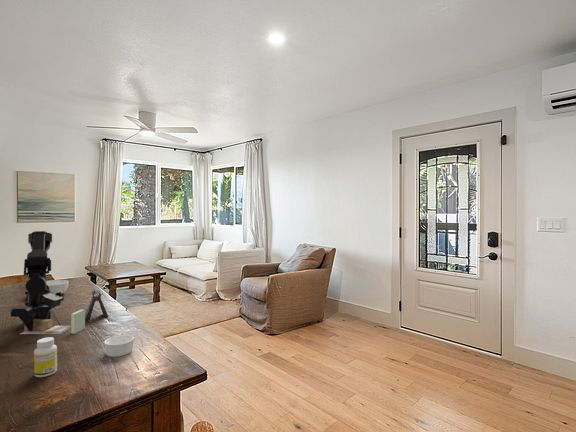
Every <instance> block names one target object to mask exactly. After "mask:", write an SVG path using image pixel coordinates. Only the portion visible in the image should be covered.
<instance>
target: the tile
mask: <svg viewBox="0 0 576 432" xmlns="http://www.w3.org/2000/svg"><path fill="white" fill-rule="evenodd" d="M85 314H86V310H85V309H79V310H77V311H75V312H72V313H71V318H70V321H71V322H70V323H71V325H70V326H71V328H70V332H71V334H74V335H76V334H78V333H79V332H81V331H82V330H84V329H85V328H86V321H85Z"/></svg>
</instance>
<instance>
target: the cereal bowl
mask: <svg viewBox="0 0 576 432" xmlns="http://www.w3.org/2000/svg"><path fill="white" fill-rule="evenodd" d="M69 282H70V281H69V280H67V279H52V280H46V284H47V285H48V287H49V290H50V292H51V294H54V293H55V294H56V293H58V292H63V293H64V292H66V290H68V288H69V284H70V283H69Z"/></svg>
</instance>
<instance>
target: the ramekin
mask: <svg viewBox="0 0 576 432" xmlns="http://www.w3.org/2000/svg"><path fill="white" fill-rule="evenodd" d="M134 340H135V337H134V336H133V335H131V334H130V335H129V334H120V335H115V336H110V337H109V338H107V339H105V340H104V347H105V348H104V349H105V355H106V356H108V357H112V358H118V357H123V356H126V355H128V354H130V353H131V352H132V351H133V347H134Z"/></svg>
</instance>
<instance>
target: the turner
mask: <svg viewBox="0 0 576 432" xmlns="http://www.w3.org/2000/svg"><path fill="white" fill-rule="evenodd" d="M53 320H54V319H52V318H51V319H34V323H33V330H32V331H29V330H28V329H27V327H26V326H25V324H24V323H23V325H24V326H23V327H24V329H23V330H24V331H23V332H45V333H61V334H62V332H63V333H64V332H66V331H69V330H71V325H54V324H53V322H54V321H53Z"/></svg>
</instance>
